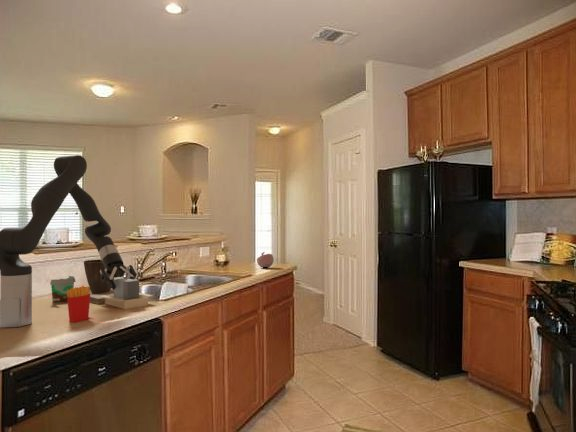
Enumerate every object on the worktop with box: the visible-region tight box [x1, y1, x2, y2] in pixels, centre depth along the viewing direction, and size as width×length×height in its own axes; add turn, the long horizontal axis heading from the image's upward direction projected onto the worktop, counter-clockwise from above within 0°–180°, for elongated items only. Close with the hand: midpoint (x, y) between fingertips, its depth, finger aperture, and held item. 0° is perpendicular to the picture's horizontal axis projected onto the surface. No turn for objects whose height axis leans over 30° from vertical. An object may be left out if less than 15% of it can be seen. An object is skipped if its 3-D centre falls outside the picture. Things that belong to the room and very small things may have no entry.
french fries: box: [66, 285, 91, 323], centre depth 157 cm, size 8×4×12 cm, turn 153°
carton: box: [99, 292, 154, 310], centre depth 182 cm, size 15×16×4 cm
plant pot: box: [83, 258, 115, 295], centre depth 210 cm, size 15×15×16 cm
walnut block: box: [90, 291, 114, 305], centre depth 191 cm, size 12×12×3 cm
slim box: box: [113, 277, 140, 300], centre depth 182 cm, size 5×11×10 cm, turn 49°
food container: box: [49, 275, 76, 303], centre depth 194 cm, size 12×6×10 cm, turn 168°
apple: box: [256, 251, 275, 268], centre depth 313 cm, size 12×12×12 cm
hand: (124, 287), depth 183 cm, fingers open, 8 cm apart
